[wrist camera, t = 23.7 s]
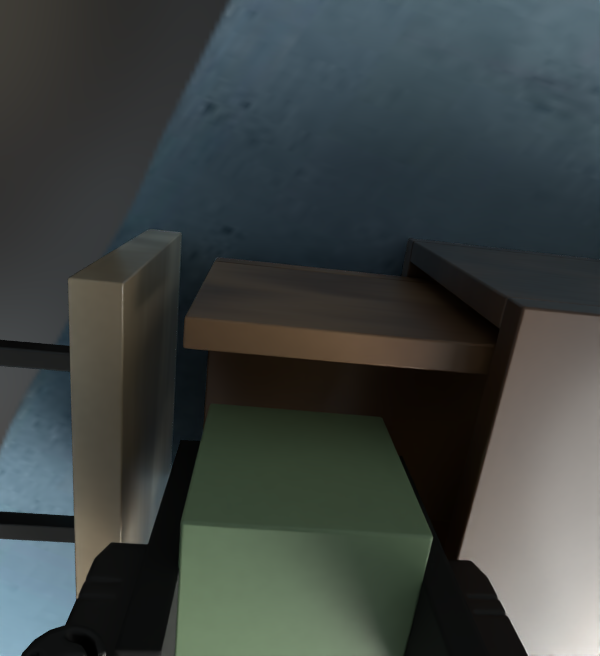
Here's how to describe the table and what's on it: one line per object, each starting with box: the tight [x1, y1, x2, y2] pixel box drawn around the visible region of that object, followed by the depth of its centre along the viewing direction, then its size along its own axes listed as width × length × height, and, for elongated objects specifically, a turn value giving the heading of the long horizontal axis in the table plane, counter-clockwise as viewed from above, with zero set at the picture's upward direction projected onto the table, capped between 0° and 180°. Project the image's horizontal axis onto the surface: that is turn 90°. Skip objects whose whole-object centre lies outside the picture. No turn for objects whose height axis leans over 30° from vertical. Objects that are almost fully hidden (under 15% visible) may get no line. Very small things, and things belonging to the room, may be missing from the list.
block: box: [175, 404, 433, 656], centre depth 13 cm, size 5×5×5 cm
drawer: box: [0, 229, 500, 599], centre depth 17 cm, size 20×12×8 cm, turn 83°
